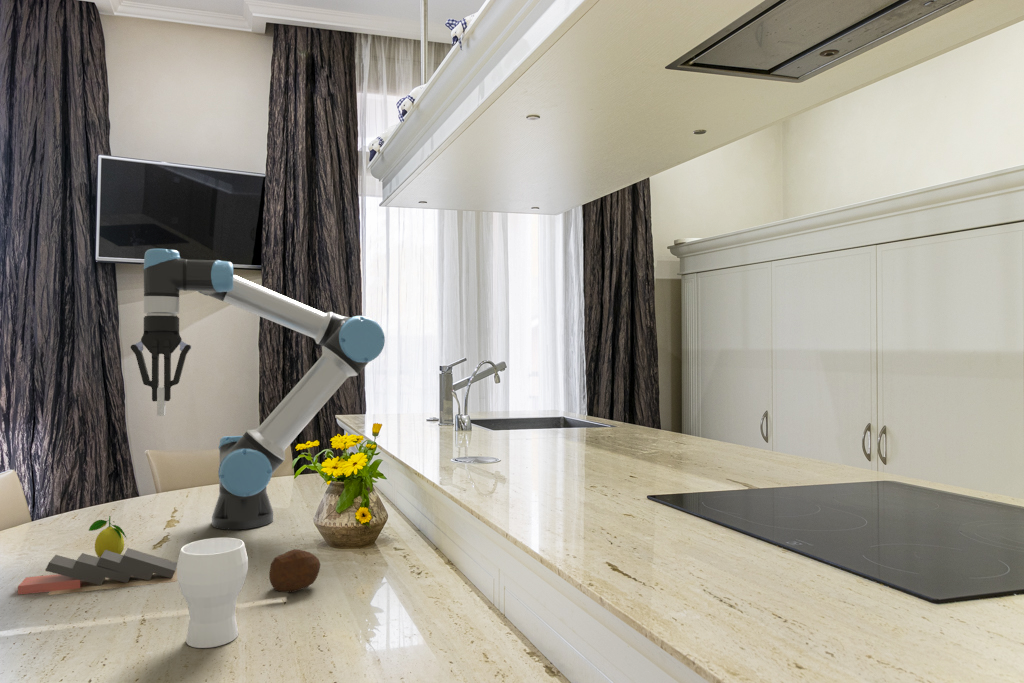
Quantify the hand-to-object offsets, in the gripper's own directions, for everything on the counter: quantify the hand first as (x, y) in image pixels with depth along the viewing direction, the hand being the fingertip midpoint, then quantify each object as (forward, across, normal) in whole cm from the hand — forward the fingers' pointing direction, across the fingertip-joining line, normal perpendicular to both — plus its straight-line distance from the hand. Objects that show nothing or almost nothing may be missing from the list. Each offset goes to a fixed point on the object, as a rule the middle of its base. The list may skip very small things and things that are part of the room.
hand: (161, 415), depth 164 cm
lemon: (+31, +9, +11) cm, 34 cm away
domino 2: (+29, +7, +27) cm, 40 cm away
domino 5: (+29, -5, +27) cm, 40 cm away
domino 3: (+29, +2, +27) cm, 40 cm away
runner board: (+30, +2, +27) cm, 41 cm away
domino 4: (+29, -2, +27) cm, 40 cm away
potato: (+31, -28, +42) cm, 59 cm away
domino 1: (+29, +11, +27) cm, 41 cm away
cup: (+31, -14, +60) cm, 69 cm away
